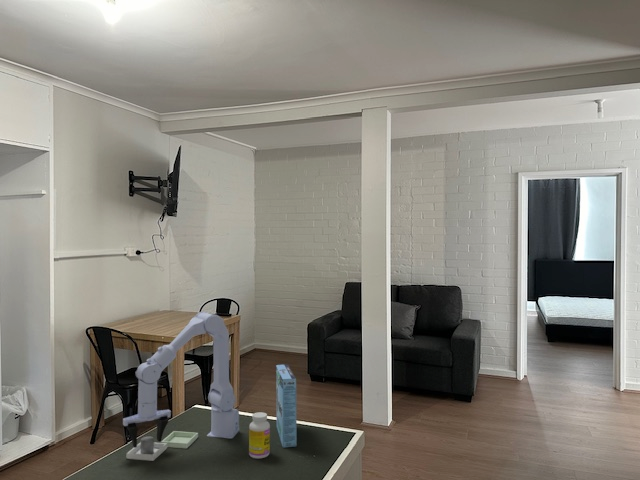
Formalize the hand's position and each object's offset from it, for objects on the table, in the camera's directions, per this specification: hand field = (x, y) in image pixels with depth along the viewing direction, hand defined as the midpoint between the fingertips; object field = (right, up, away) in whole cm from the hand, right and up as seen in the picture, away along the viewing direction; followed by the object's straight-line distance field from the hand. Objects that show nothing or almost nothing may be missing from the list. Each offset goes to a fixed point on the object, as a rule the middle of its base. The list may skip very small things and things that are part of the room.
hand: (147, 443), depth 153 cm
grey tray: (0, -4, 0) cm, 4 cm away
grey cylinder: (0, -3, 0) cm, 3 cm away
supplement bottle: (+36, -4, +1) cm, 36 cm away
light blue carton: (+43, -4, +16) cm, 46 cm away
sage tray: (+8, -4, +9) cm, 13 cm away
